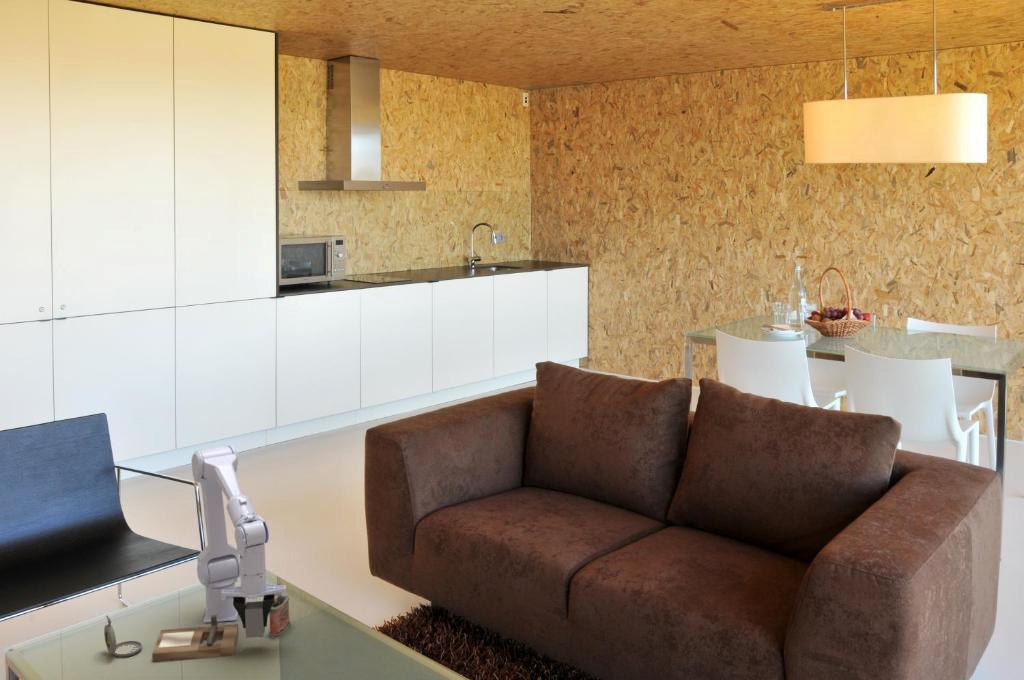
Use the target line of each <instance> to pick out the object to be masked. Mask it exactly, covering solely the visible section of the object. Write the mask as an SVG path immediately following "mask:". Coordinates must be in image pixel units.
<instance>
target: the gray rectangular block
mask: <svg viewBox="0 0 1024 680" xmlns="http://www.w3.org/2000/svg"><path fill="white" fill-rule="evenodd" d="M263 621H264V610H263V600H261V601H258V600H257V601H246V607H245V624H246V628H245V638H246V639H247V638H258V637H259V638H260V637H264V636H265V632H266V631H265V629H266V627H264V623H263Z"/></svg>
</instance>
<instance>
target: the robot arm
mask: <svg viewBox="0 0 1024 680" xmlns="http://www.w3.org/2000/svg"><path fill="white" fill-rule="evenodd" d="M238 465H239V457H238V453H237V450H236V449H235V447H234V446H232V445H227V446H222V447H217V448H215V447H214V448H210V449H204V450H196V451H194V453H193V454H192V457H191V468H192V477H193V480H194V482H196V483H200V484H199V485H200V486H201V494H202V504H203V512H204V513H203V514H204V523H205V532H206V540H207V542H206V543H207V545H206V546H205V548H204V549H202V551H200V552H199V553H198V554H197V565H196V571H197V572H196V573H197V578H198V581H199V583H200V584H201V585H203V586H205V600H206V603H205V604H206V612H205V614H204V618H203V623H205V624H207V623H211V615H217V623H219V622H220V623H221V622H232V621H237V619H238V616H239V618H240V621H241V624H242V627H243V629H246V624H245V607H246V602H247V601H246V600H247V599H249V600H253V599H254V600H256V599H258V598H260V597H261V598H262V597H263V598H262V599H263V600H262V601H263V610H264V621H263V623H264V627H265V628H266V627H267V626H268V617H269V612H270V609H271V607H272V605H273V602H274V597H275V596H277V595H281V596H286V595H287V585H286V584H285V585H284V584H283V585H282V584H281V585H280V584H279V585H278V584H268V583H267V574H266V573H267V569H266V544H268V542H269V539H270V534H269V533H270V532H269V527H268V525H267V522H266V521H265V519H264V518H262V517H261V515H258V514H257V512H256V509H255V506H254V505H253V503H252V501H251V499H250V497H249V496H247V495H244V494H243V492H242V491H243V490H242V488H241V484H240V481H239V478H238V476H237V474H236V473H237V470H238ZM223 495H224V496H225V497H226V500H227V503H226V511H227V514H228V515H229V518H230V520H231V522H232V525H233V527H234V540H235V543H236V547H235V546H234V545H232V544H231V543H228V534H227V526H226V514H225V508H224V507H225V506H224V497H223ZM238 578H240V586H237V587H236V583H237V582H238Z"/></svg>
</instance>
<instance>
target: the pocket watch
mask: <svg viewBox="0 0 1024 680" xmlns="http://www.w3.org/2000/svg"><path fill="white" fill-rule="evenodd" d="M106 619H107V624H106V625H104V629H103V631H104V632H103V633H104V635H103V637H104V641H105V646H106V649H107V651H108V653H109V654H112V655H113V656H115V657H129V656H133V655H135V654H137V653H139V652H140V651H141V650H142V648H143V644H142V642H140V641H137V640H126V641H121V642H119V643H117V637H116V634H115V633H116V632H115V630H114V628H113V626H112V620H111V618H109V616H108V615H107V614H106ZM123 645H124V646H128V645H134V646H136V647H133V648H138V649H132V650H136V651H134V652H133V651H130V652H131V653H127V654H117V653H115V651H116V649H118V648H119V647H122V646H123ZM130 647H131V646H130Z"/></svg>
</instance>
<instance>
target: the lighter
mask: <svg viewBox="0 0 1024 680" xmlns="http://www.w3.org/2000/svg"><path fill="white" fill-rule="evenodd" d="M289 603H290V596H289V595H287V594H286V596H281V595H277V596H275V597H274V602H273V605H272V607H271V609H270V612H269V615H268V617H269V638H272V639H278V638H280V637H281V636H283V635H284V634H285V633H286V632H287V631H288V630H287V629H290V627H289V626H291V621H290V606H289V605H290V604H289Z"/></svg>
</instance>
